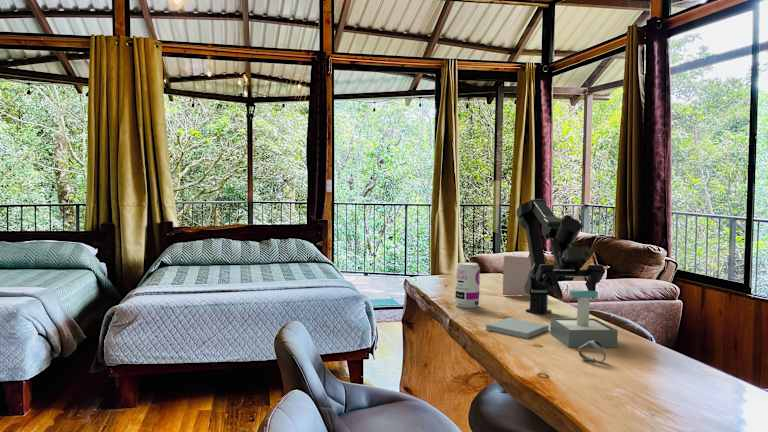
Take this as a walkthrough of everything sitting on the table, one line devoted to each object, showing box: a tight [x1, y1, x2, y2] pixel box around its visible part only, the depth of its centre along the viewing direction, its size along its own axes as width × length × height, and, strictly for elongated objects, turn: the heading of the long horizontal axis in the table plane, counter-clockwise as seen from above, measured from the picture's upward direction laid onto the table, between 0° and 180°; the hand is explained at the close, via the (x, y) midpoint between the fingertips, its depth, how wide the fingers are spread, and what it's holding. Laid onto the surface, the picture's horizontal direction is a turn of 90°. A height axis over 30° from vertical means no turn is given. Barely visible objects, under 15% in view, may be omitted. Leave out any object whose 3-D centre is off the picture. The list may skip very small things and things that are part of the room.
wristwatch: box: [578, 340, 607, 364], centre depth 128 cm, size 4×6×5 cm, turn 58°
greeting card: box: [502, 255, 532, 297], centre depth 208 cm, size 11×7×15 cm, turn 58°
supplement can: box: [454, 261, 481, 309], centre depth 187 cm, size 8×8×15 cm
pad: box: [485, 317, 550, 339], centre depth 156 cm, size 13×13×2 cm
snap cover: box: [556, 290, 610, 330], centre depth 145 cm, size 11×11×10 cm
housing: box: [549, 317, 619, 348], centre depth 145 cm, size 13×13×4 cm
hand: (577, 298), depth 149 cm, fingers open, 9 cm apart
